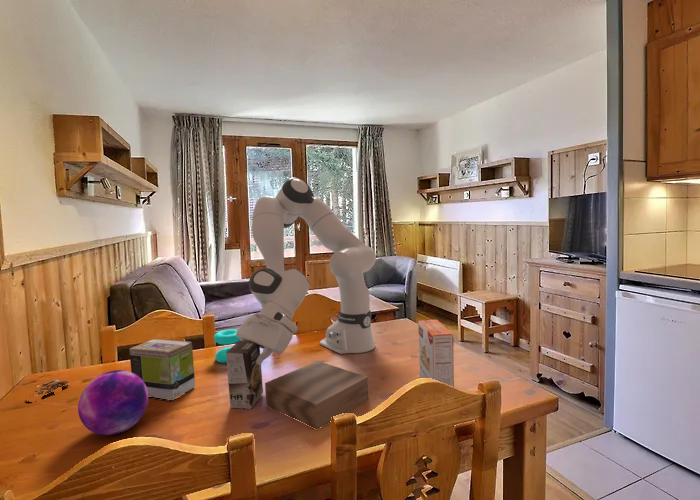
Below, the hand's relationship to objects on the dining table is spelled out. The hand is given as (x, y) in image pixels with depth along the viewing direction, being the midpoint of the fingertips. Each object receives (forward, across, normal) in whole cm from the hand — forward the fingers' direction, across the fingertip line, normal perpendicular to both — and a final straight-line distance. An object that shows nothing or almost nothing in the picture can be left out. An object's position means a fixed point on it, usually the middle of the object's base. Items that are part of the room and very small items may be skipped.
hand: (246, 359), depth 114 cm
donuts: (0, -34, +18) cm, 38 cm away
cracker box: (-16, +40, +32) cm, 54 cm away
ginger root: (+36, -51, -18) cm, 65 cm away
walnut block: (0, +16, +17) cm, 23 cm away
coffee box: (+9, 0, +8) cm, 12 cm away
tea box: (+19, -24, -1) cm, 31 cm away
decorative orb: (+30, -11, -13) cm, 35 cm away
